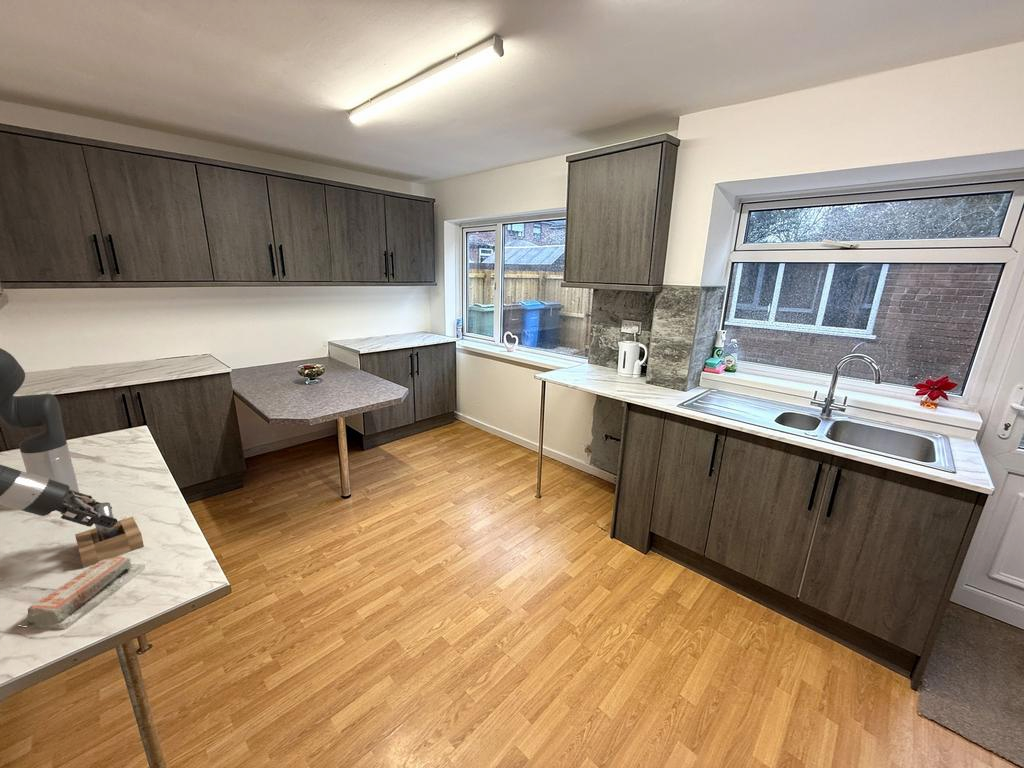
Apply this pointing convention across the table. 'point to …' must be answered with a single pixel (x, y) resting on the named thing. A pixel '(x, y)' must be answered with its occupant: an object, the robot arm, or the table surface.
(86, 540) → the wooden frame
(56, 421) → the robot arm
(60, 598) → the packaged product
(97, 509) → the steel rod
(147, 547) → the table surface
